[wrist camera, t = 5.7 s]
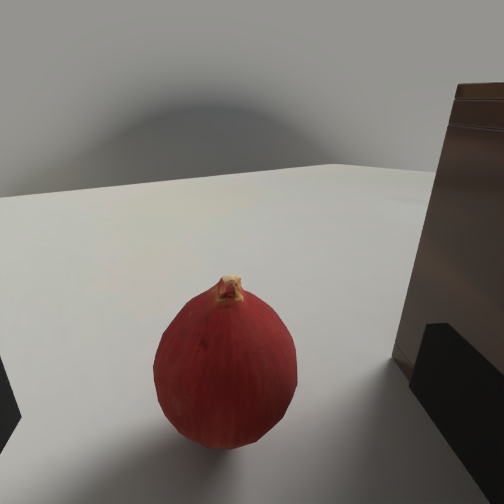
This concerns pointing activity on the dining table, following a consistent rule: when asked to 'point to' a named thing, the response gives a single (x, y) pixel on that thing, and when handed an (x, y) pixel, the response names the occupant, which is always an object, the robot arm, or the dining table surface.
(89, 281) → the dining table surface
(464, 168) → the box
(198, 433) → the onion
